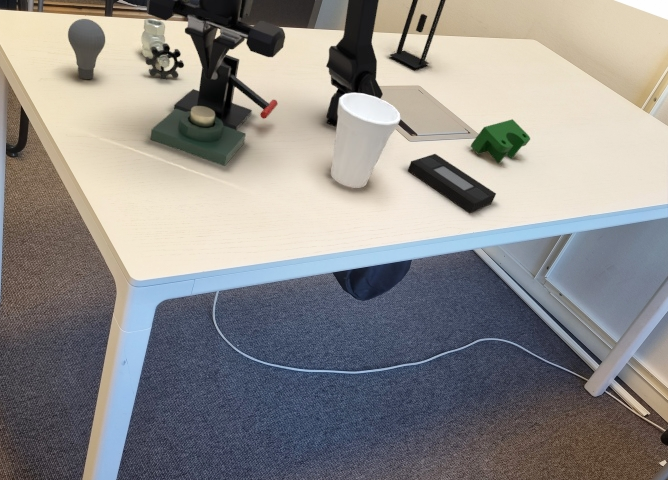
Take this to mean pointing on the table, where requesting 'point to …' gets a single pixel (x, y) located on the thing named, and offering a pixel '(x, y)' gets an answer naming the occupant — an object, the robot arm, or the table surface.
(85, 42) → the light bulb
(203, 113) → the button
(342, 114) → the cup
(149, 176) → the table surface
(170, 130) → the button box
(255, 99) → the lever
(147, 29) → the valve
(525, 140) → the clamp
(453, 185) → the vhs tape
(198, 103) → the bracket
